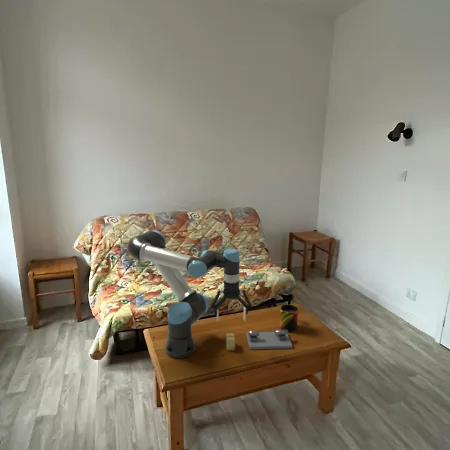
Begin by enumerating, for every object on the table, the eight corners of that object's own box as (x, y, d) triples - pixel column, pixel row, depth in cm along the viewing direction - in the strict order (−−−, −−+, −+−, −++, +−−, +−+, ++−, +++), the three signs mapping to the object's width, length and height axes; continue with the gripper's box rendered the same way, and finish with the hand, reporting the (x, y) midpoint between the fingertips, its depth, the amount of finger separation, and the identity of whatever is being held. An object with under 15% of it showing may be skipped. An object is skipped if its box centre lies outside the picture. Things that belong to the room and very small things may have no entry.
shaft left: (248, 341, 178) (248, 333, 177) (247, 337, 183) (247, 329, 182) (259, 341, 179) (259, 333, 178) (257, 336, 183) (258, 329, 182)
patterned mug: (288, 318, 205) (289, 300, 202) (299, 331, 192) (301, 311, 189) (273, 321, 202) (274, 302, 199) (284, 333, 189) (285, 313, 186)
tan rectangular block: (234, 350, 174) (235, 339, 172) (226, 350, 174) (226, 339, 172) (234, 343, 180) (234, 333, 178) (226, 343, 179) (226, 333, 178)
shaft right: (276, 341, 179) (277, 333, 178) (273, 336, 183) (274, 328, 182) (288, 339, 181) (289, 331, 180) (285, 334, 185) (285, 327, 184)
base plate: (249, 349, 175) (249, 346, 174) (246, 335, 187) (246, 332, 187) (292, 348, 176) (292, 345, 176) (286, 334, 188) (286, 331, 188)
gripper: (205, 284, 163) (206, 324, 169) (258, 283, 165) (256, 323, 170) (205, 278, 171) (206, 316, 176) (255, 277, 172) (254, 315, 177)
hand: (231, 319), depth 173 cm, fingers open, 13 cm apart
